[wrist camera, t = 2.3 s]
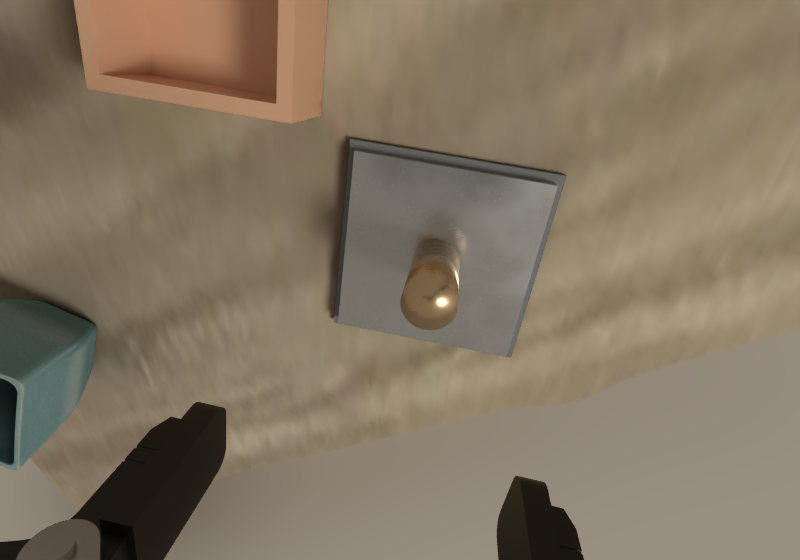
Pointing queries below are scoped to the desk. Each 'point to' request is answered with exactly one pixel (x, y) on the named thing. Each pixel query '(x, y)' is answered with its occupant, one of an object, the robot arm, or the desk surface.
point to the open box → (209, 53)
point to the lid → (440, 250)
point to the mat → (455, 161)
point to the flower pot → (39, 373)
